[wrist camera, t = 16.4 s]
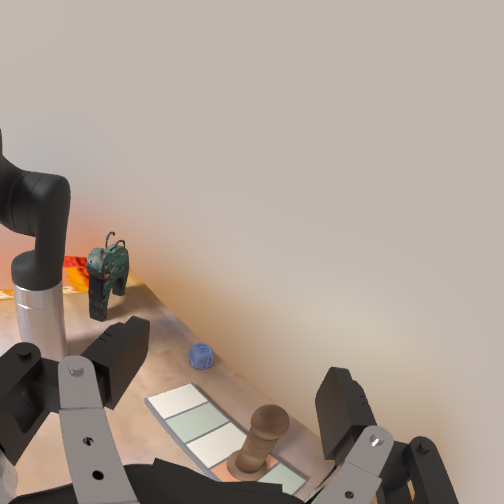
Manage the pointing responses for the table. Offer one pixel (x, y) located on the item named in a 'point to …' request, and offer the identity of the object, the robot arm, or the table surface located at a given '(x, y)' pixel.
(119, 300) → the table surface
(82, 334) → the table surface
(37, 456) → the table surface
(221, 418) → the game board
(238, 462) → the pawn
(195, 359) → the decorative dice
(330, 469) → the robot arm
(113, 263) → the ceramic cat
